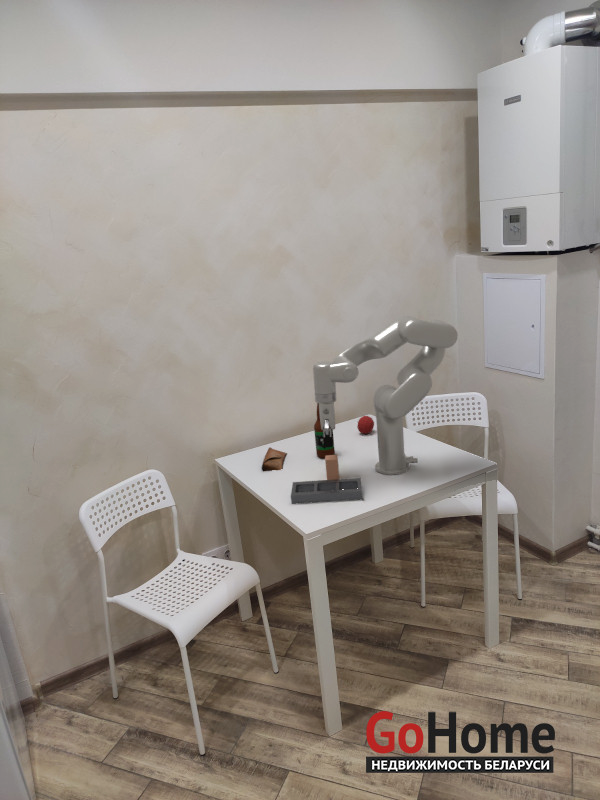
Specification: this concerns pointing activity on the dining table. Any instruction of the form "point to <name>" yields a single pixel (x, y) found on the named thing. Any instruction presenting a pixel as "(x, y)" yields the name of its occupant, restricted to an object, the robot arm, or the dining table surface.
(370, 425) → the red textured ball
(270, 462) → the sunglasses case
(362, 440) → the dining table surface
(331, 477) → the peg
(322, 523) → the dining table surface
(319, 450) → the bottle
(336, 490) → the rack
